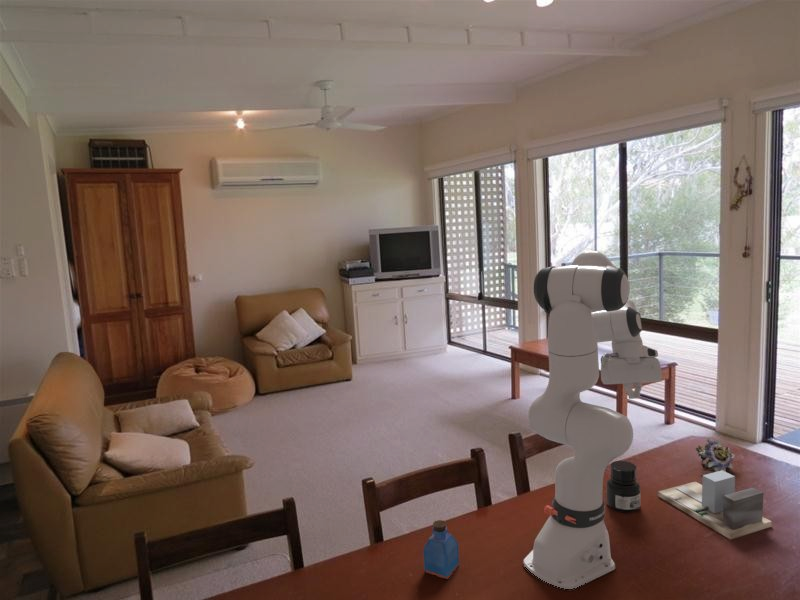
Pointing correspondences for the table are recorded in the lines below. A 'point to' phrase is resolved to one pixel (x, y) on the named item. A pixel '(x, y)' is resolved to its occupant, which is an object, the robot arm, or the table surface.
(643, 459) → the table surface
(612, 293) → the robot arm
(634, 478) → the ink bottle
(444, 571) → the perfume bottle
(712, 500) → the gauge slider
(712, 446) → the passion flower
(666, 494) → the bench
